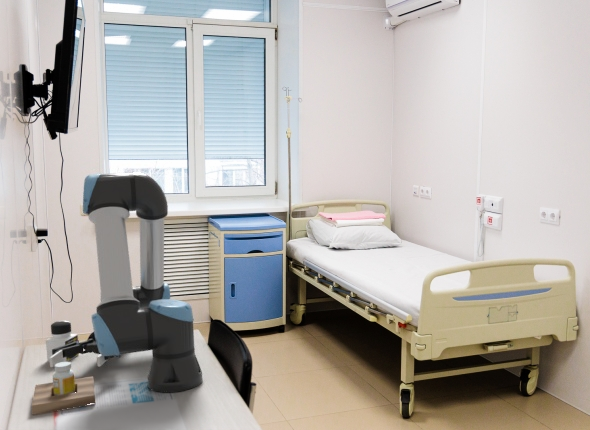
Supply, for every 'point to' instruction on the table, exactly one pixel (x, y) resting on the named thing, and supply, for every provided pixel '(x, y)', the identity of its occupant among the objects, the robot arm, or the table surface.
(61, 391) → the supplement bottle
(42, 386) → the socket block
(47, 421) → the table surface
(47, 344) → the medicine bottle
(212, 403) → the table surface
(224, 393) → the table surface
